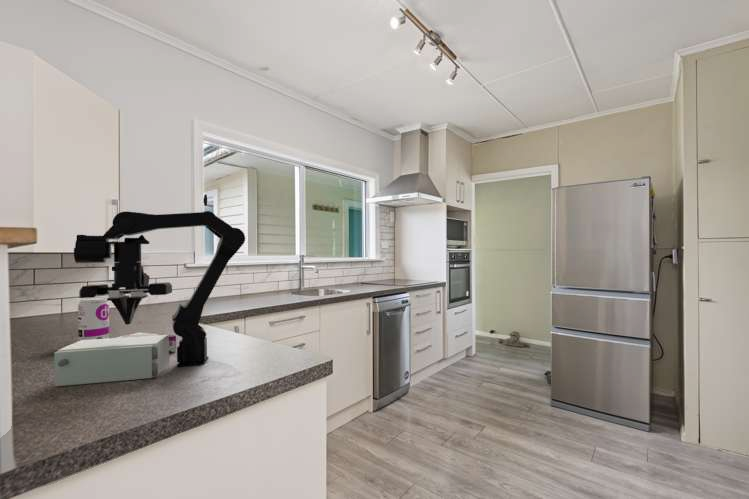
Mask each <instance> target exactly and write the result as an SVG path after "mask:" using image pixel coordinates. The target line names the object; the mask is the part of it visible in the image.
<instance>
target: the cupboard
mask: <svg viewBox="0 0 749 499" xmlns="http://www.w3.org/2000/svg"><path fill="white" fill-rule="evenodd" d="M169 335H170V334H163V335H154V336H138V337H122V338H115V337H111V338H110V337H109V338H107V339H91V340H81V341H75V342H73V343H72V344H69V345H67V346H64V347H62V348H60V349H58V350H57V352H58V351H73V350H88V349H102V348H117V347H132V346H147V345H153V347H154V346H158V359H153V363H158V375H157V376H153V377H152V378H155V377H158V376H159V375H160V374H161V373H163V371H164V370H165V369H166V368H167V367H168V366H169V365H170V353H169Z"/></svg>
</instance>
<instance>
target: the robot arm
mask: <svg viewBox="0 0 749 499" xmlns="http://www.w3.org/2000/svg"><path fill="white" fill-rule="evenodd" d="M194 227H205V228H206V229H208V230H209V231H210V232H211V233H212V234H213V235H214V236H216V237H217V238H219V240H218V243H217V247H216V251H215V254H214V256H213V258H212V260H211V262H210V263H209V265H208V267H207V268H206V270H205V272H204V274H203V276H202V278H201V280H200V281H199V282H198V285H197V286H196V288H195V290H194V292H193V294H192V296H191V297H190V299H189V300H188V301H187V302H186V303H185V305H184V304H182V303H179V304H178V307H177V309H176V311H175V313H174V314H173V315H172V316H171V319H172V330H173V332H174V334H175V336H178V337H180V338H181V339H180V340H179V341H178V346H176V362H177V365H176V366H177V367H185V366H197V365H199V366H200V365H205V363H206V362H207V361H208V359H209V356H208V351H207V350H208V341H207V340H208V338H207V337H206V336H207V332H206V331H205V329H204V328H203V326H201V325H200V324H199V323H200V320H201V319H202V318H201V317H202V314H203V311H204V306H205V304H206V303H207V300H208V299H209V297H210V295H211V293H212V292H213V290H214V288H215V286H216V285H217V283H218V281H219V280H220V277H221V275H222V274H223V272H224V270H225V268H226V267H227V264H228V263H229V261H230V260H231V259H232V258H233V257H234V256H235V255H236V253H237V252H238V251H239V250H240V248H241V247H242V246H243V245H244V243H245V241H246V236H245V233H244V232H243V230H241V229H240V228H237V227H232V226H231V225H230V223H229V224H228V223H227V222H226V221H224V220H223V219H221V218H220V217H218V216H217V215H216V214H215V213H213V212H212V211H209V210H205V211H201V212H181V213H167V214H166V213H165V214H164V213H163V214H154V213H153V214H152V213H151V214H150V213H145V212H136V211H135V212H134V211H120V212H118V213H117V214H116V215H115V216H114V217H113V219H112V225H111V226H110V227H109V229H108V230H107V231H105V233H104V234H103V235H88V234H77V235H76V241H75V244H74V248H73V258H74V262H75V264H95V263H97V264H99V263H103V264H104V263H106V261H107V259H112V245H113V266H111V271H112V272H113V283H111V286H109V285H108V284H105V283H104V284H103V283H102V284H89V285H82V286H81V287H80V289H79V292H78V293H79V299H90V298H96V297H97V296H106V295H108V297H106V298H107V301H108V302H109V301H110V302H111V303H112V304H113V306H114V307H115V309H117V311H118V313H119V315H120V317H121V318H122V320H123V322H124V324H125V325H126V326H127V325H131V324H132V322H133V319H134V317H135V313H136V312H137V309H138V307H139V305H140V303H141V301H143V299H145V298H148V296H149V294H150V295H151V296H164V295H169V294H173V286H172V285H173V284H172V283H170V282H169V281H168V282H153V283H150V275H149V274H148V273H146V272H144V266H143V265H142V245H150V244H151V243H150V241H149V240H147V239H146V238H145V236H144V235H143V234H144V233H147V232H148V233H149V232H152V231H157V230H164V229H165V230H167V229H179V228H194ZM135 235H140V236H138V237H131V236H135ZM125 236H127V237H125ZM122 237H124V240H123V241H117V240H120V238H122ZM109 240H113V241H109ZM114 240H115V241H114ZM126 294H129V295H126Z"/></svg>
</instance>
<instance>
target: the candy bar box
mask: <svg viewBox="0 0 749 499" xmlns="http://www.w3.org/2000/svg"><path fill="white" fill-rule="evenodd" d="M154 335H164V334H162V333H161V334H160V333H151V332H143V331H139V332H134V333H130V334H125V335H120V336H116V337H114V338H122V337H138V336H154ZM168 335H169V354H170V353H172V352H177V335H171V334H168Z"/></svg>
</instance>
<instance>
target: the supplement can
mask: <svg viewBox="0 0 749 499" xmlns="http://www.w3.org/2000/svg"><path fill="white" fill-rule="evenodd" d="M107 298H108V297H93V298H81V299H80V301H79V303H78V305H77V313H78V314H77V316H78V317H77V318H78V319H77V327H78V328H77V332H78V334H77V337H78V338H77V340H78V341H81V340H91V339H107V338H110V302H109V301H107ZM78 341H77V342H78Z"/></svg>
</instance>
